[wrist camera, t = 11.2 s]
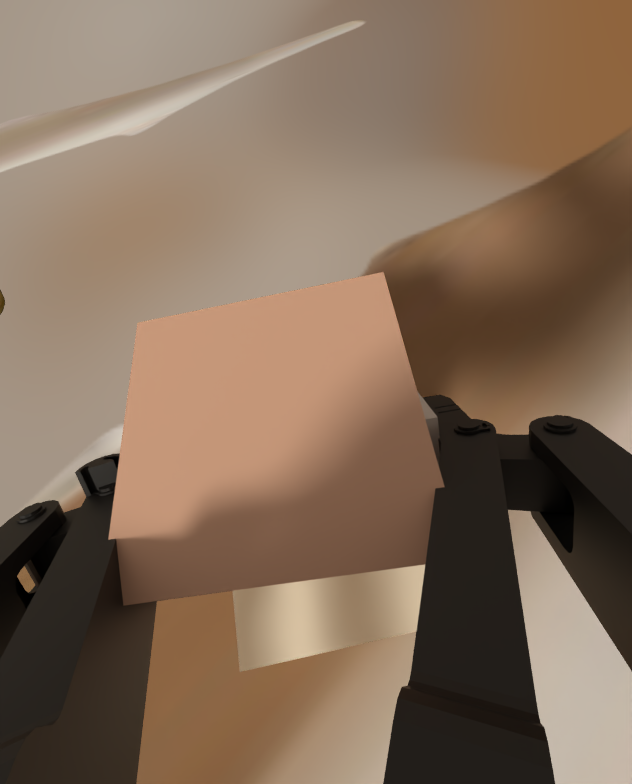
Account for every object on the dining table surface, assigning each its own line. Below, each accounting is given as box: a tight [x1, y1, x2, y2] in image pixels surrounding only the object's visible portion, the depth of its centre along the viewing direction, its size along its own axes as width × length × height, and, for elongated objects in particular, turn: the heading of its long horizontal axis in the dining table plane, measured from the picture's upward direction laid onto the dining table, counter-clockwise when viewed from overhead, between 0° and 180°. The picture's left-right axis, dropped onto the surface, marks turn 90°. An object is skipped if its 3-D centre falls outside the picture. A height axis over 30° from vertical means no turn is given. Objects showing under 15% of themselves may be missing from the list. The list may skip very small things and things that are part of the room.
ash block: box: [233, 565, 425, 672], centre depth 24 cm, size 14×14×5 cm
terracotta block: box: [108, 272, 444, 606], centre depth 13 cm, size 7×7×11 cm
